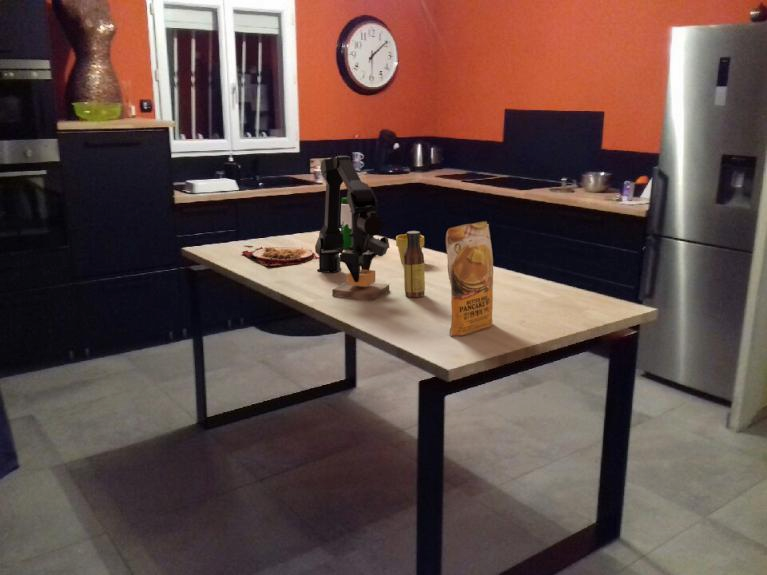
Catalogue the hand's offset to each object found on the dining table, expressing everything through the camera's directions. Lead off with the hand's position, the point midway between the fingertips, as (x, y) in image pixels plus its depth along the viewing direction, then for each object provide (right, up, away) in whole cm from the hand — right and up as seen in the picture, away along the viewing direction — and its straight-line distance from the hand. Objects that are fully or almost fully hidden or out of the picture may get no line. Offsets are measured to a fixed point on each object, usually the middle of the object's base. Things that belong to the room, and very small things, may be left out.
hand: (361, 279), depth 216 cm
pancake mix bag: (+30, -14, -31) cm, 45 cm away
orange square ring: (0, -1, 0) cm, 1 cm away
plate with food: (-31, +8, +49) cm, 58 cm away
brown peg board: (0, -4, +1) cm, 5 cm away
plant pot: (+17, +6, +40) cm, 44 cm away
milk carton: (-6, +13, +65) cm, 66 cm away
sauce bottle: (+16, -5, -1) cm, 17 cm away
